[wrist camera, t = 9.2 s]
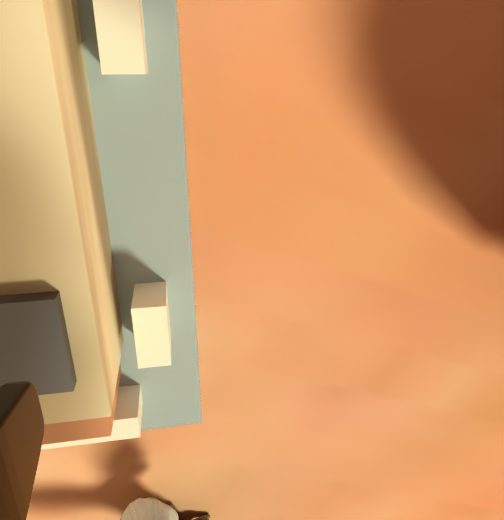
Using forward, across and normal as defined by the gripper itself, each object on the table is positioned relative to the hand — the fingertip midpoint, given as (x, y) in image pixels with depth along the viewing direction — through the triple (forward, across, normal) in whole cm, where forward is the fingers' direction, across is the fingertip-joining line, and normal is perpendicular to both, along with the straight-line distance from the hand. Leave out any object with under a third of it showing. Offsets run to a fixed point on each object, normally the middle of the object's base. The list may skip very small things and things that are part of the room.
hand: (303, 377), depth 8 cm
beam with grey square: (+10, +7, -2) cm, 12 cm away
